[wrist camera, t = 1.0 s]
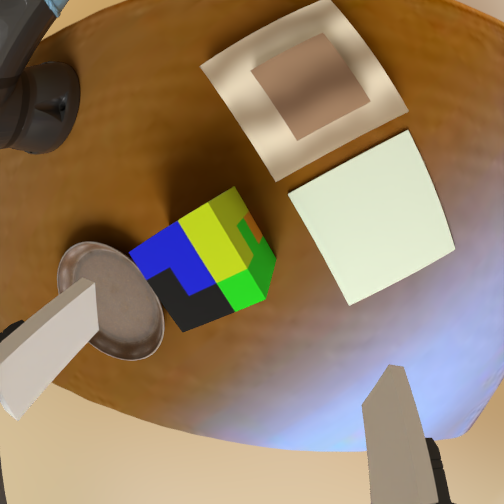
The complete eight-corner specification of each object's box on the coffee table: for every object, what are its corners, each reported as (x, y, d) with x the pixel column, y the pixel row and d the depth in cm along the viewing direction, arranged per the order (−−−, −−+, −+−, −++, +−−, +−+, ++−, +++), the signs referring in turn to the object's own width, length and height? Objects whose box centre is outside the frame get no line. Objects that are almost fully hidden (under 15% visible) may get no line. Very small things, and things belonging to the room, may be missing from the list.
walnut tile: (254, 76, 26) (250, 70, 23) (321, 40, 23) (323, 32, 21) (297, 140, 27) (296, 140, 25) (365, 105, 25) (370, 101, 22)
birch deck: (209, 73, 29) (199, 66, 26) (326, 10, 24) (328, -3, 21) (278, 178, 32) (275, 182, 29) (398, 114, 27) (408, 111, 24)
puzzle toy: (169, 225, 37) (128, 252, 27) (234, 186, 34) (207, 202, 24) (209, 289, 39) (182, 332, 30) (276, 258, 36) (265, 299, 27)
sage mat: (287, 193, 33) (287, 194, 32) (406, 130, 28) (408, 129, 27) (348, 304, 36) (349, 305, 36) (453, 248, 31) (455, 249, 31)
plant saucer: (123, 211, 37) (110, 217, 34) (197, 334, 42) (189, 347, 39) (52, 264, 44) (40, 271, 40) (113, 358, 48) (104, 368, 45)
